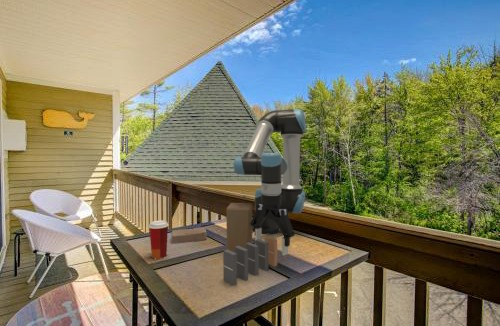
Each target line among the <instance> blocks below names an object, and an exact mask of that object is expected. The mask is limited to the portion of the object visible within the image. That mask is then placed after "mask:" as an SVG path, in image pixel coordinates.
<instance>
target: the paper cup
mask: <svg viewBox="0 0 500 326" xmlns="http://www.w3.org/2000/svg"><path fill="white" fill-rule="evenodd" d="M169 225H170V224H169V223H168V221H167V220H163V219H162V220H154V221H151V222H150V223H149V224H148V228H149V239H150V250H151V251H150V252H151V258H152V259H153V258H156V259H155V260H161V259H160V258H162V259H165V258H166V257H167V252H168V249H167V248H168V235H169V234H168V232H169V231H168V228H169V227H168V226H169ZM164 257H165V258H164Z"/></svg>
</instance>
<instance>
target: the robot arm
mask: <svg viewBox="0 0 500 326" xmlns="http://www.w3.org/2000/svg"><path fill="white" fill-rule="evenodd" d="M306 124H307V122H306V116H305V113H304V111H303V110H302V109H299V108H297V109H296V108H295V109H294V108H293V109H281V110H280V109H279V110H278V109H275V110H271V111H269V112H267V113H266V114H265V113H264V115H262V116H261V117H260V118H259V119H258V121H257V123H256V125H255V128H254V129H255V131H254V133H253V136H252V137H251V139H250V141H249V143H248V146H247V147H246V150H245V152H244V153H243V156H237V157H235V158H234V160H233V169H234V172H235V174H237V175H241V176H260V178H261V180H260V181H261V185H260V186H261V187H260V188H257V189H256V190H255V192H254V213H253V215H252V221H251V226H252V233H254V236H255V237H254V238H255V243H254V244H255V245H256V240H257V239H260V240H262V239H263V238H262V235H271V234H277V233H279V232H281V234H282V235H283V236H282V237H281V256H282V257H283V256H287V255H289V246H290V245H291V238H292V237H293V238H294V237H295V236H296V235H295V230H294V229H293V226H292V223H291V222H292V221H291V219H290V217H289V215H288V214H290V213H291V214H301V213H302V211H303V209H304V205H305V199H306V191H304V190H303V187H302V186H301V184H300V171H301V170H300V167H301V166H300V165H301V164H300V161H301V160H300V158H301V152H300V151H301V149H300V148H301V138H302V137H303V136H304V133H305V132H307V125H306ZM273 133H280V137H281V138H282V139H283V141H282V142H283V143H282V144H283V145H282V147H283V151H282V153H283V154H281V153H279V152H271V153H270V152H267V153H266V152H264V151H265V149H266V146H267V143H268V140H269V138H270V137H271V136H272V135H273ZM282 155H283V156H282Z"/></svg>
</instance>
